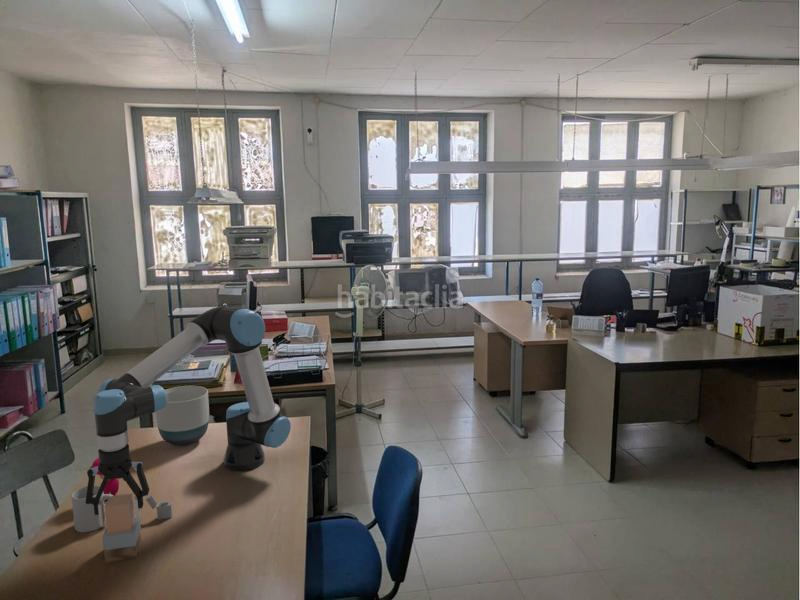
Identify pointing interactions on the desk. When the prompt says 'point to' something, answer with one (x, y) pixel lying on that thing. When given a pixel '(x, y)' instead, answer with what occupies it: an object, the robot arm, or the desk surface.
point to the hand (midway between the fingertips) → (120, 521)
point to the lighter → (160, 508)
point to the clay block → (119, 513)
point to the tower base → (122, 552)
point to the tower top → (122, 537)
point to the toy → (112, 484)
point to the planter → (184, 415)
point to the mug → (86, 510)
